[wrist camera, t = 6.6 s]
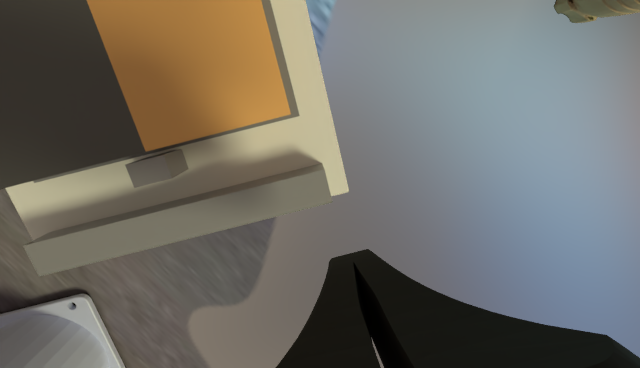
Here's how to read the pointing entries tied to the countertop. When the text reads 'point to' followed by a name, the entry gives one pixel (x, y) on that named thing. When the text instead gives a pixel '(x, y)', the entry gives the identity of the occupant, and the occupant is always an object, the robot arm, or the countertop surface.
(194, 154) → the switch housing
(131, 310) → the countertop surface
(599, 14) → the handle
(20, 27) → the breaker rocker
